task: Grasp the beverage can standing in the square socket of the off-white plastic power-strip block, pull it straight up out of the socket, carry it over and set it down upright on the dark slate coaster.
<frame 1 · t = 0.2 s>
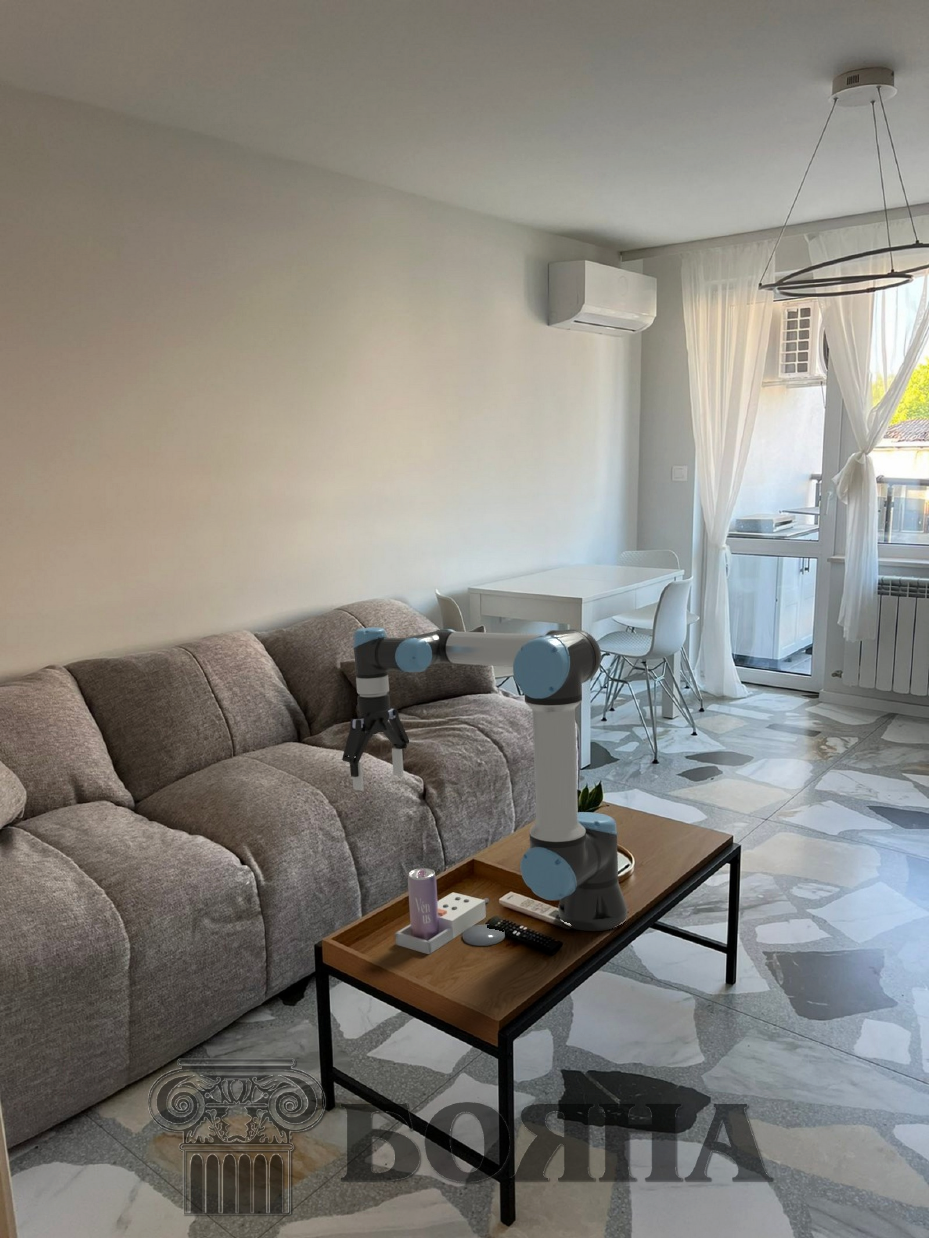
hand: (379, 782, 223), 28 cm above the table, fingers open, 13 cm apart
coaster: (483, 936, 201), on the table
beverage can: (425, 941, 200), resting in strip
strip: (442, 930, 205), on the table
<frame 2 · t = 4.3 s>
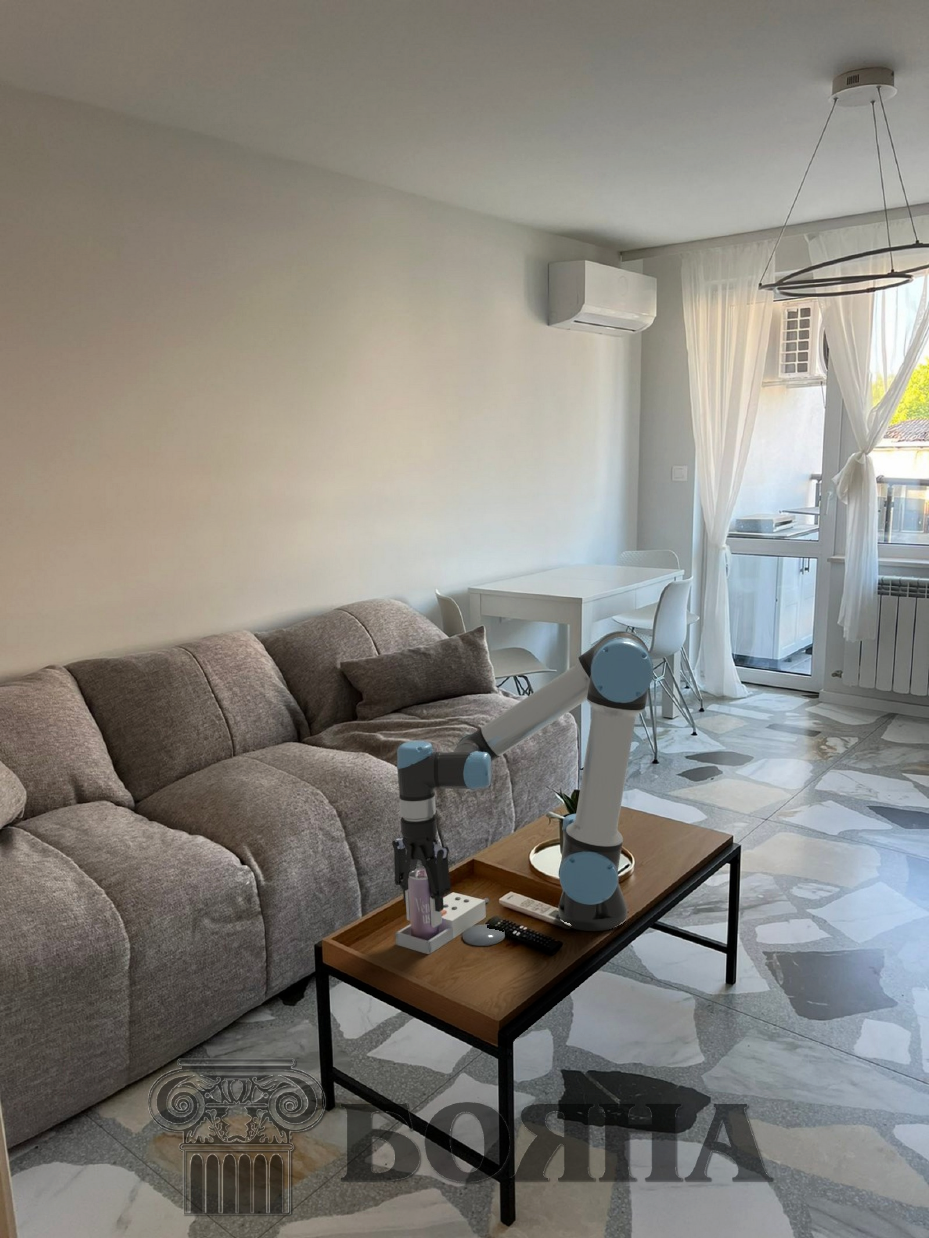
hand: (424, 921, 200), 4 cm above the table, fingers closed on beverage can, 6 cm apart
beverage can: (425, 941, 200), resting in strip, touching gripper
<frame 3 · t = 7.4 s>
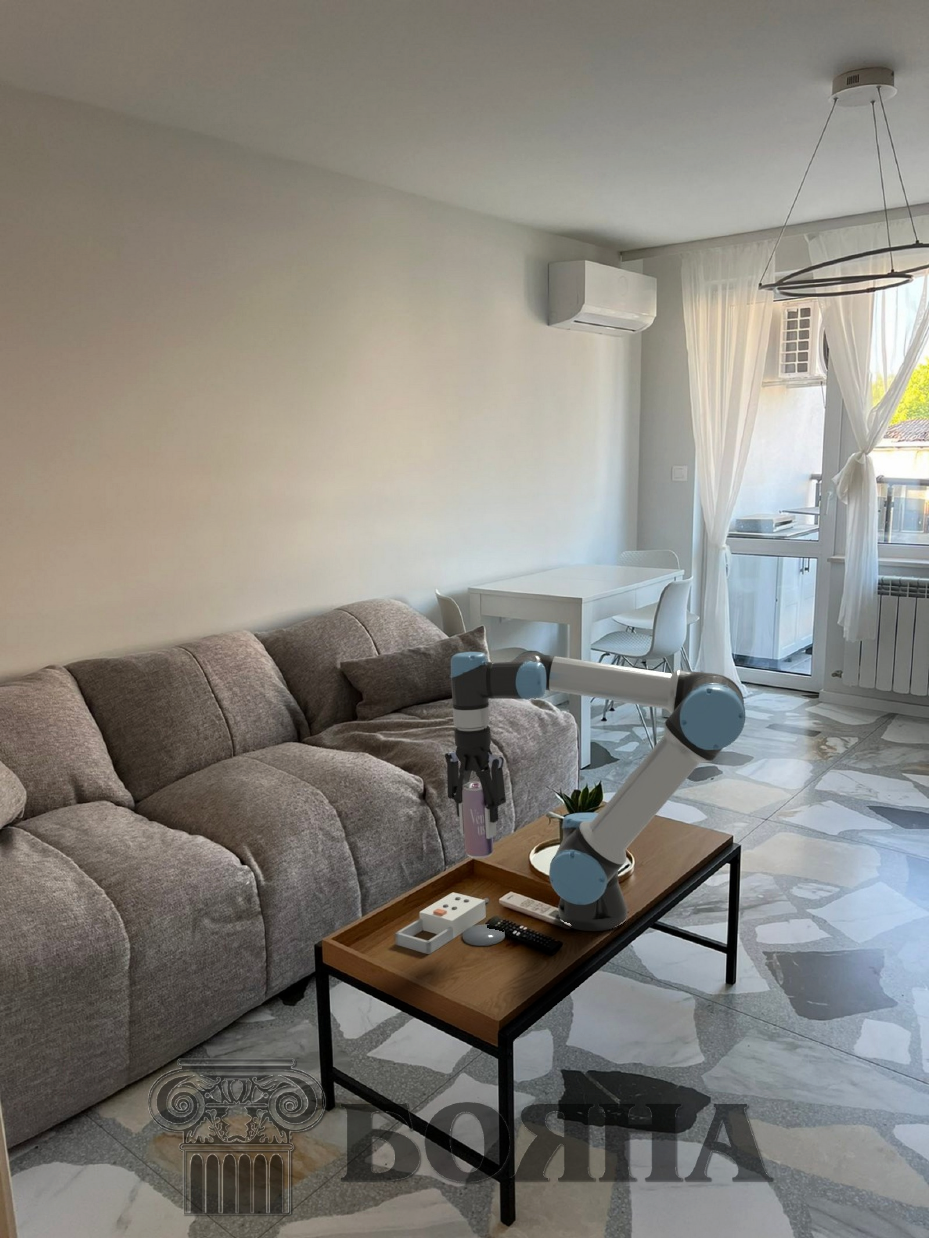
hand: (478, 833, 198), 23 cm above the table, fingers closed on beverage can, 6 cm apart
beverage can: (479, 854, 199), point 18 cm above the table, touching gripper
when the fingers open (6 cm above the table, at t = 10.9 s): beverage can stays where it is, resting on coaster.
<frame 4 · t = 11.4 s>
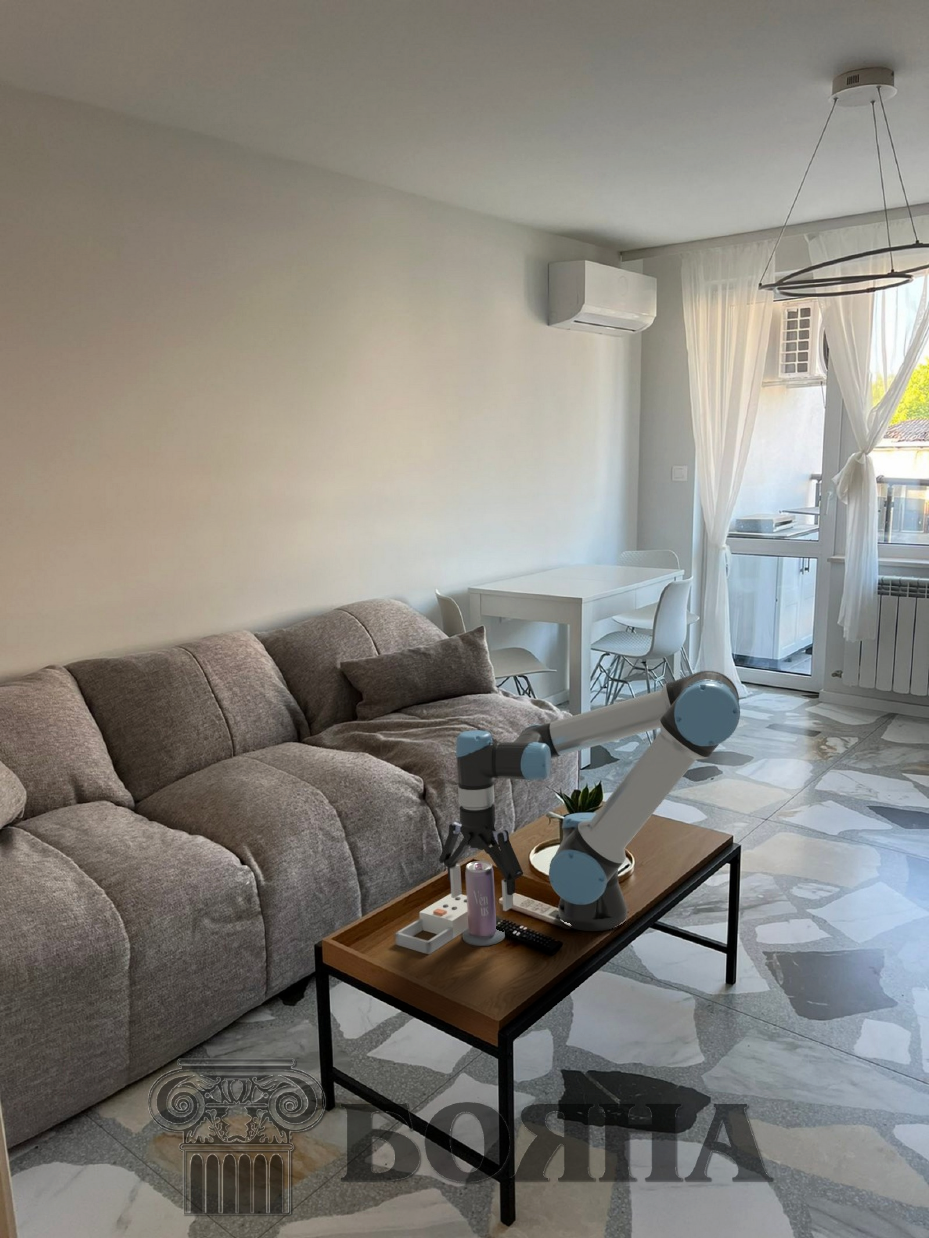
hand: (481, 902, 200), 8 cm above the table, fingers open, 13 cm apart
beverage can: (482, 934, 201), resting on coaster
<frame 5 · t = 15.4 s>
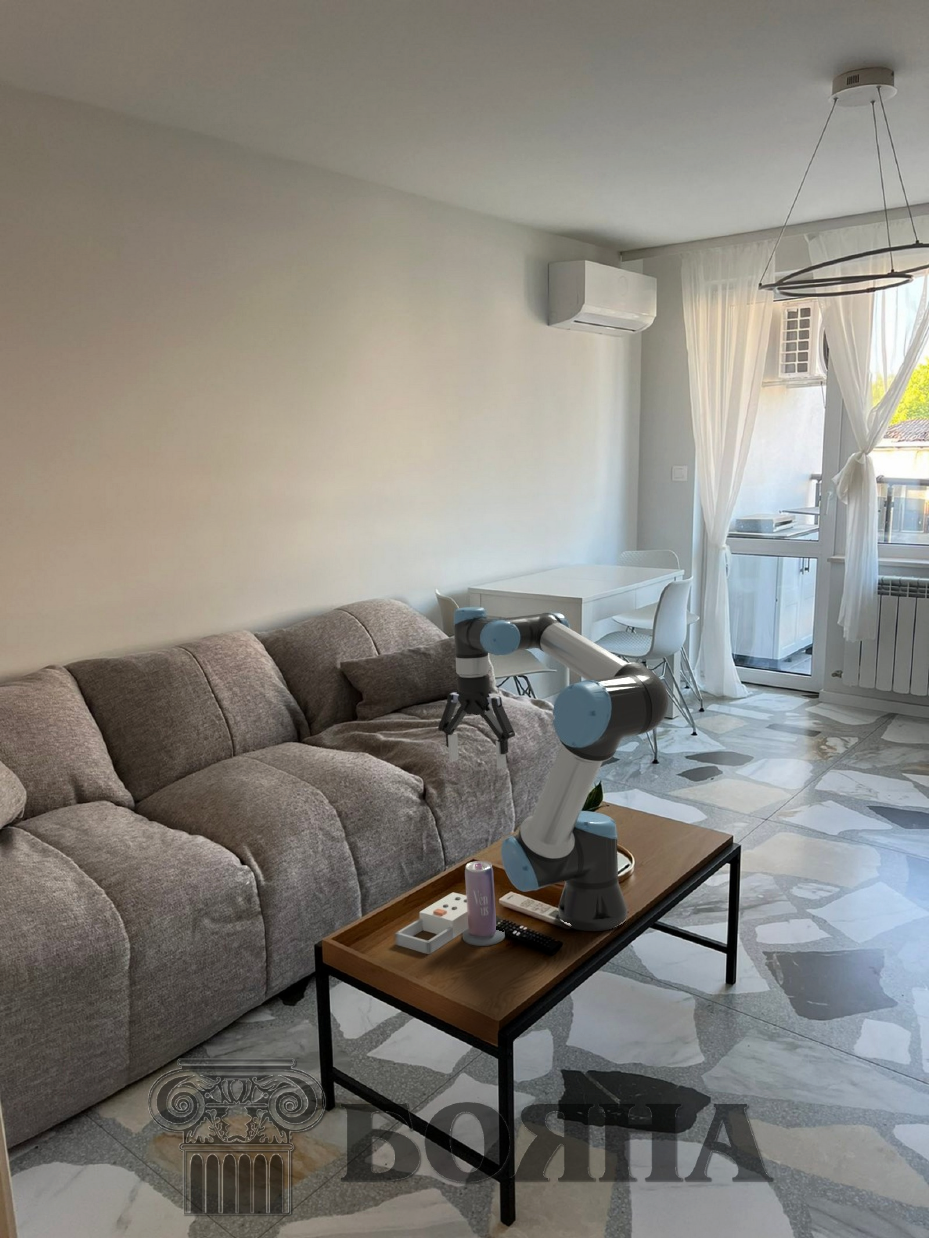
hand: (477, 764, 219), 32 cm above the table, fingers open, 13 cm apart
nothing on the table moved.
at the end: beverage can inside the target area on the coaster (0.2 cm from its centre), point 0.4 cm above the coaster's base; beverage can tilted 1°; the gripper is holding nothing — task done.
